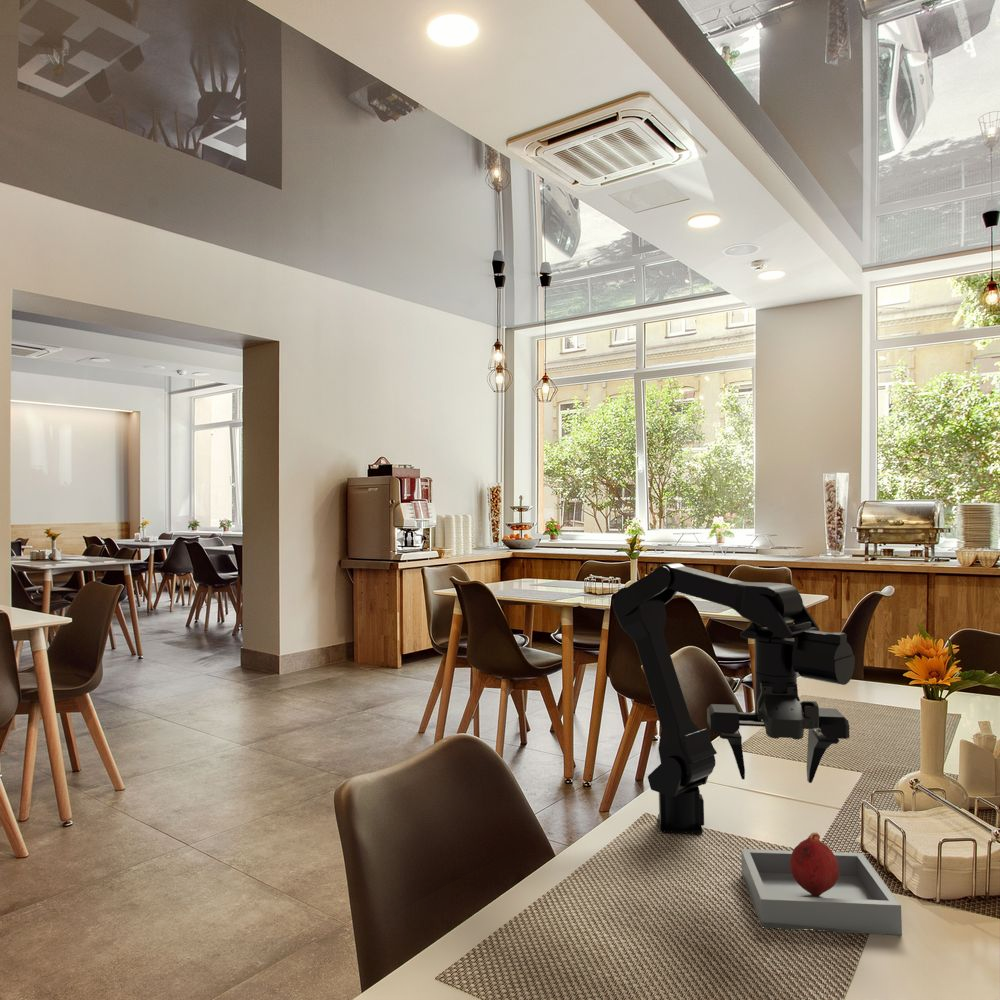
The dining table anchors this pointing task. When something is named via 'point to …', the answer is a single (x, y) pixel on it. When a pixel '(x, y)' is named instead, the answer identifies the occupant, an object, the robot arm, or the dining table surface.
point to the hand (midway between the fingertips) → (775, 780)
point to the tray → (842, 908)
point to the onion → (814, 865)
